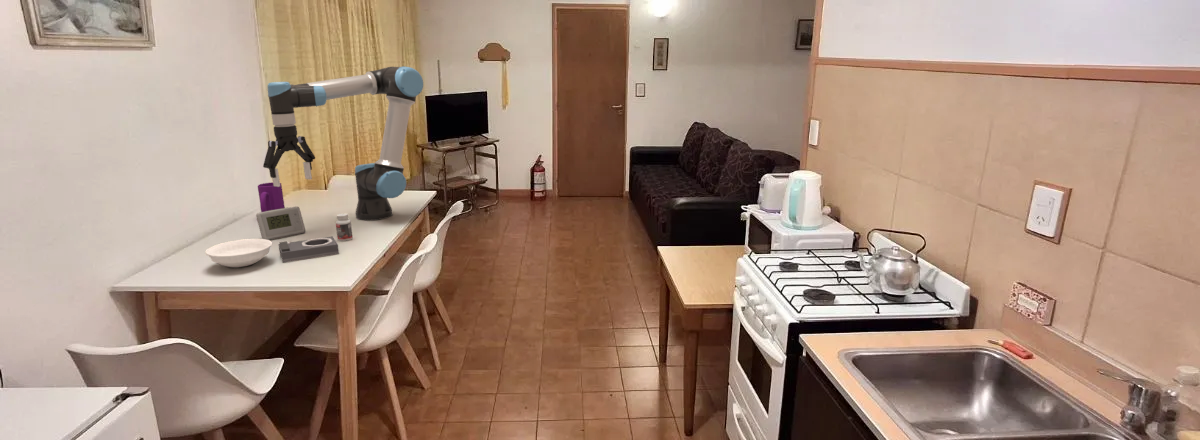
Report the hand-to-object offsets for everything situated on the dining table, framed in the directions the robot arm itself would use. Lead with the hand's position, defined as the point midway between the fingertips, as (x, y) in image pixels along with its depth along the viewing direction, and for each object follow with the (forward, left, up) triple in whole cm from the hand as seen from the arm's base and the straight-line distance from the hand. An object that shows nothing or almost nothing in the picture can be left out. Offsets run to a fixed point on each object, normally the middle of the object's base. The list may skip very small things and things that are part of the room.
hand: (293, 182), depth 237 cm
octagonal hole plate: (-1, +20, -22) cm, 30 cm away
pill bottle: (-15, +8, -23) cm, 28 cm away
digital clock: (+6, -10, -23) cm, 25 cm away
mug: (+7, -40, -23) cm, 46 cm away
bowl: (+20, +21, -23) cm, 37 cm away
